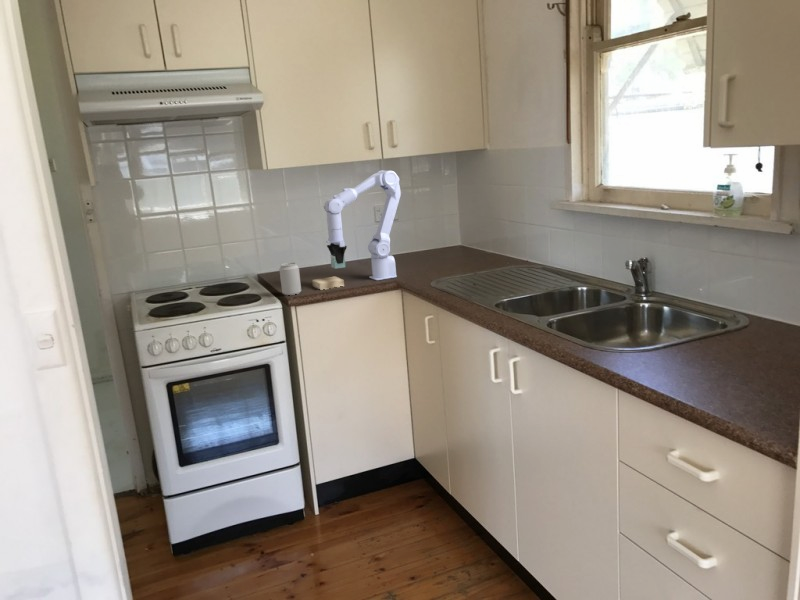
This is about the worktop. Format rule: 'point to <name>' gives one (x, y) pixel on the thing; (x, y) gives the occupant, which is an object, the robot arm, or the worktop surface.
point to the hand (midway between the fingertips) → (338, 262)
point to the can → (290, 279)
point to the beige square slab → (327, 283)
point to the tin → (334, 262)
